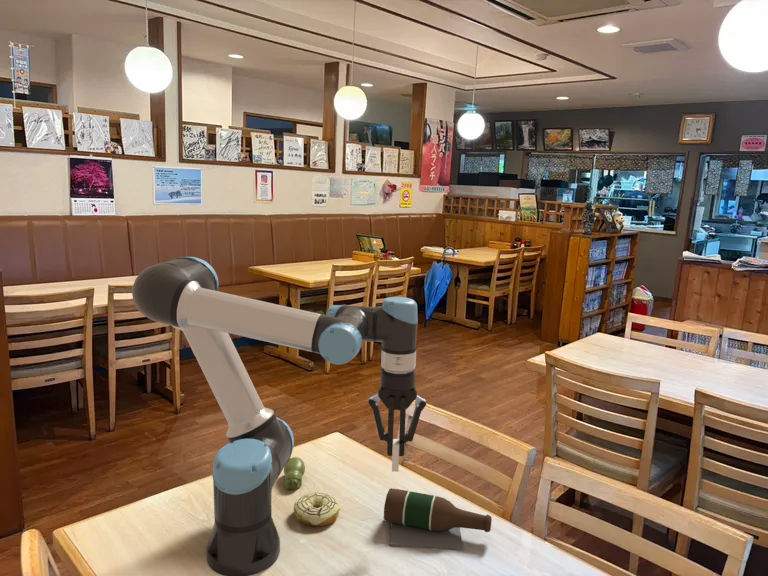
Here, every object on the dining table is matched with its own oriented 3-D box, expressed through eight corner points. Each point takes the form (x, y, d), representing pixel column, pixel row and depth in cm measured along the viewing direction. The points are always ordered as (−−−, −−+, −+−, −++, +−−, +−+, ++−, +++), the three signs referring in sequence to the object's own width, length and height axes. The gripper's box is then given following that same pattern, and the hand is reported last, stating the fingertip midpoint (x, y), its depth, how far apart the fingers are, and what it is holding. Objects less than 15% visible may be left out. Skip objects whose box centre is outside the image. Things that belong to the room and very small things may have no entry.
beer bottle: (393, 485, 136) (493, 503, 130) (389, 519, 134) (490, 538, 128) (386, 489, 128) (491, 508, 122) (381, 525, 127) (488, 546, 121)
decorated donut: (318, 535, 126) (318, 520, 125) (284, 517, 132) (284, 503, 132) (347, 514, 135) (348, 500, 134) (315, 498, 141) (315, 484, 140)
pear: (305, 453, 152) (303, 478, 142) (305, 469, 154) (303, 494, 144) (285, 453, 151) (281, 478, 142) (285, 469, 153) (281, 494, 144)
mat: (389, 545, 123) (390, 543, 123) (391, 513, 135) (391, 512, 135) (462, 549, 123) (463, 547, 123) (457, 517, 135) (457, 515, 134)
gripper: (367, 373, 118) (365, 475, 123) (429, 375, 118) (424, 478, 122) (369, 362, 126) (367, 459, 130) (427, 364, 125) (423, 461, 130)
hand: (395, 468), depth 126 cm, fingers closed
